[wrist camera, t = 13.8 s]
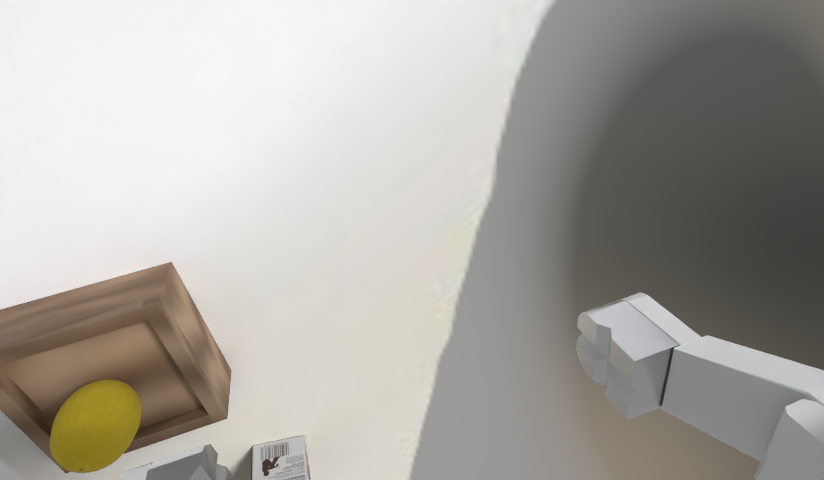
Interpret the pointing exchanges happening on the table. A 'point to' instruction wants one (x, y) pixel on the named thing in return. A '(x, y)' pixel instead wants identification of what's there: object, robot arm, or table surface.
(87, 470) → the lemon
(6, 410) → the walnut base
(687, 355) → the robot arm
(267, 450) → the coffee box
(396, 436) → the table surface
